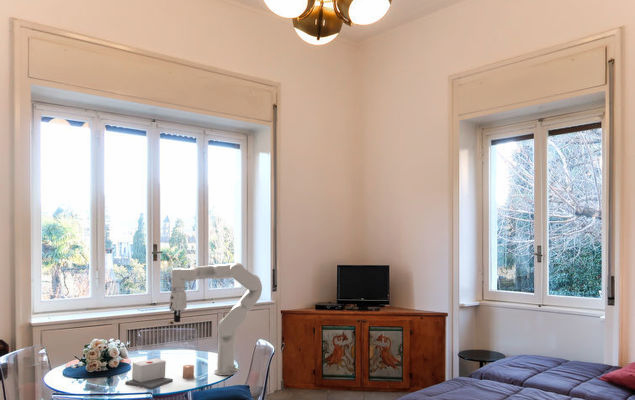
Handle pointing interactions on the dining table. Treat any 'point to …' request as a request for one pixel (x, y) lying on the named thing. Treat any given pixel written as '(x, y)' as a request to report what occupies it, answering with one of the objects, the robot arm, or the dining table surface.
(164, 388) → the dining table surface
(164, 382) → the board
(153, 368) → the supplement box
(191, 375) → the tan small cube
